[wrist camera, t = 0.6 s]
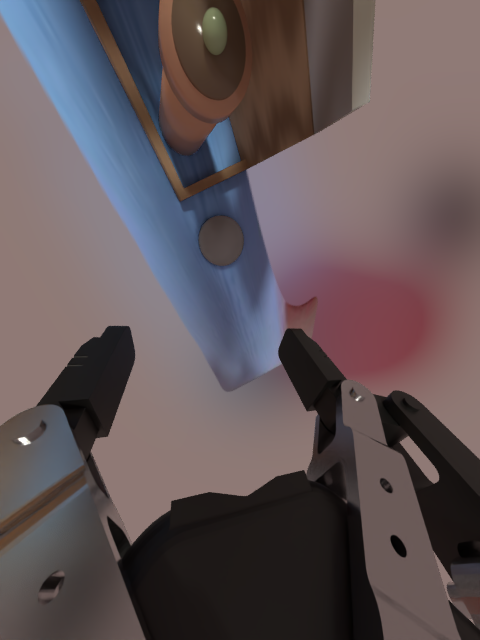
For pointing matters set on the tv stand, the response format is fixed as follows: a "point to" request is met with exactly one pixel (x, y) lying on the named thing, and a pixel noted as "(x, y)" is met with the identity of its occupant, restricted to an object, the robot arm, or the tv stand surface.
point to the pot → (201, 68)
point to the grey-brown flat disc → (221, 240)
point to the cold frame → (277, 77)
